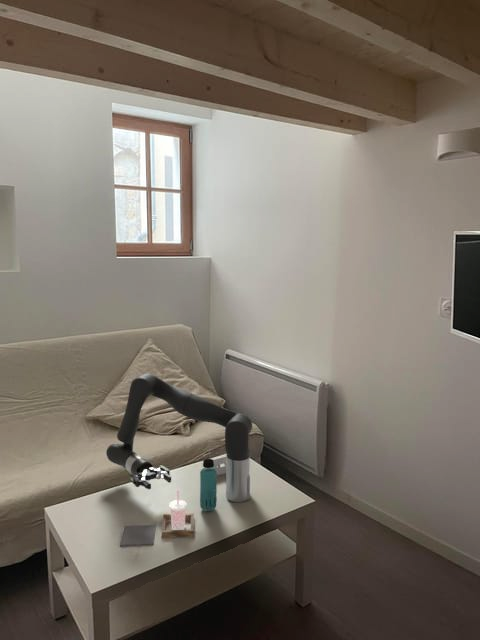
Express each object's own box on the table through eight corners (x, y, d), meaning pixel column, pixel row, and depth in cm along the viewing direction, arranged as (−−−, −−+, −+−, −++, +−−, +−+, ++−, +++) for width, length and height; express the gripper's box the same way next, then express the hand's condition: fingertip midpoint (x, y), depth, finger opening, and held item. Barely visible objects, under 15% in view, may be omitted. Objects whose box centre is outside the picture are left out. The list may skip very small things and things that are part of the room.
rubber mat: (155, 526, 175) (155, 524, 175) (153, 545, 164) (153, 543, 164) (124, 527, 174) (124, 525, 174) (119, 546, 163) (119, 544, 163)
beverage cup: (167, 524, 176) (167, 488, 173) (183, 521, 178) (183, 485, 176) (172, 534, 170) (171, 497, 168) (188, 530, 173) (189, 493, 170)
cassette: (211, 477, 211) (211, 461, 210) (209, 475, 213) (209, 459, 211) (234, 471, 218) (235, 454, 216) (232, 469, 219) (232, 453, 218)
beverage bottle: (203, 516, 182) (204, 465, 178) (196, 507, 187) (197, 458, 184) (219, 512, 185) (220, 462, 181) (212, 503, 190) (212, 455, 187)
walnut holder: (193, 518, 180) (193, 513, 180) (193, 536, 169) (193, 531, 169) (163, 519, 179) (163, 514, 179) (161, 537, 168) (161, 532, 168)
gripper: (122, 462, 187) (143, 479, 175) (154, 453, 197) (176, 468, 184) (122, 481, 189) (143, 499, 177) (154, 470, 198) (176, 487, 186)
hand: (160, 483), depth 181 cm, fingers open, 8 cm apart
